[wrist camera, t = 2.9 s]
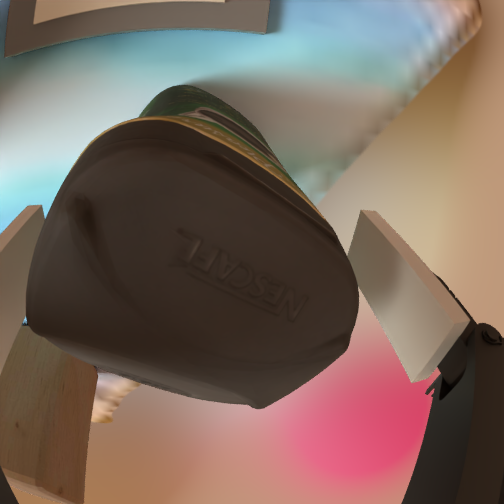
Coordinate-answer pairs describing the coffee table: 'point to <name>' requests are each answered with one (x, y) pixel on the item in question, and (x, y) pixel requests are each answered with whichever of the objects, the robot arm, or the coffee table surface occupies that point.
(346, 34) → the coffee table surface
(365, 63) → the coffee table surface
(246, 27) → the grey square frame
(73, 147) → the coffee table surface
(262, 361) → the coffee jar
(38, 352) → the wooden block
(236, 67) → the coffee table surface
